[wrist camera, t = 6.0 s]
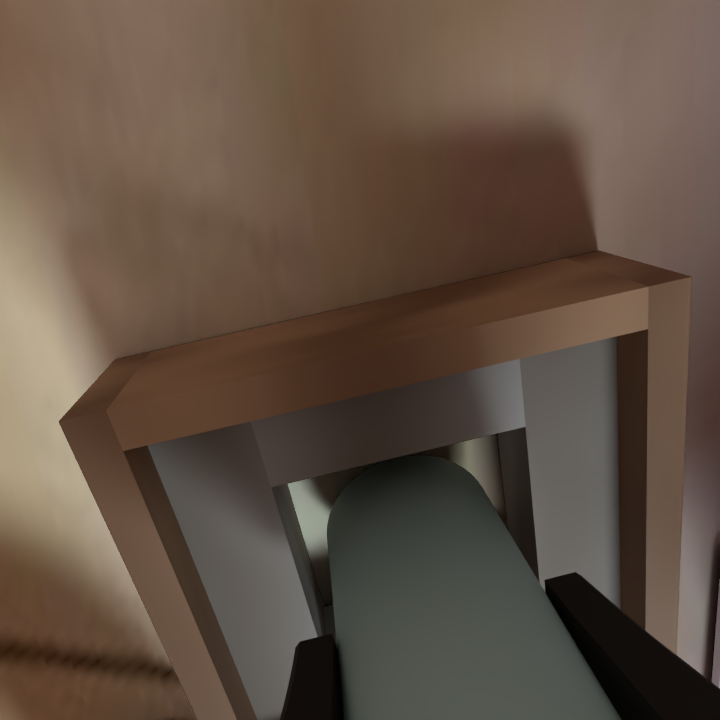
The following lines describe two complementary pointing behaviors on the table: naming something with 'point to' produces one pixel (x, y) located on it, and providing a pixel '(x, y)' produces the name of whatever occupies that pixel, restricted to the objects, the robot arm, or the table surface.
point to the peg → (445, 606)
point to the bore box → (393, 451)
